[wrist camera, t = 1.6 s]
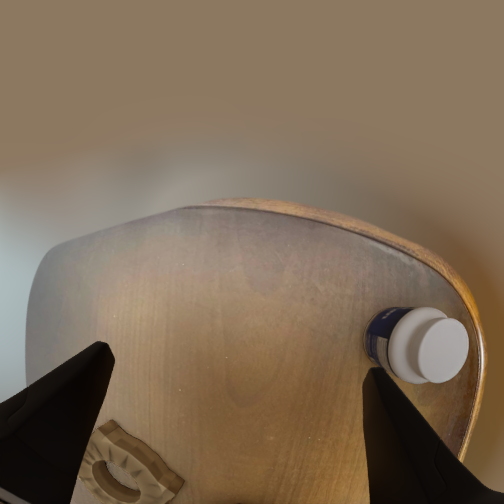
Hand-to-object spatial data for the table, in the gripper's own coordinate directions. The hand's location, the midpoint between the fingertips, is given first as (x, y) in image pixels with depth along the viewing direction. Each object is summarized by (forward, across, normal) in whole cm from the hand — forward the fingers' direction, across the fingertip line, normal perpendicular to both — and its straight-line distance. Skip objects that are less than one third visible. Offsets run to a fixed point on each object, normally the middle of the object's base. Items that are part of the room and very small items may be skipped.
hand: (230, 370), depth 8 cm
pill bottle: (+12, -12, +10) cm, 19 cm away
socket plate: (0, +14, +24) cm, 28 cm away
